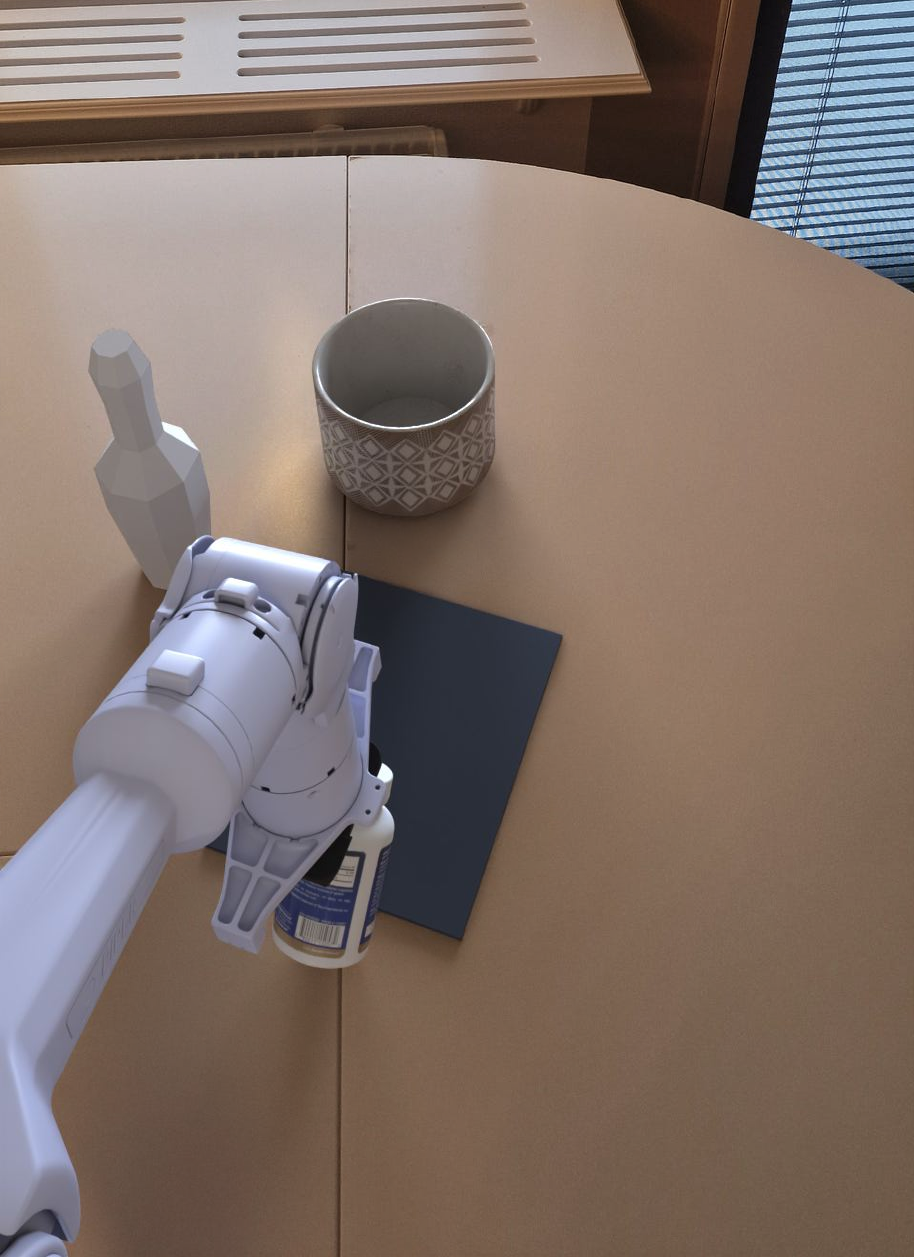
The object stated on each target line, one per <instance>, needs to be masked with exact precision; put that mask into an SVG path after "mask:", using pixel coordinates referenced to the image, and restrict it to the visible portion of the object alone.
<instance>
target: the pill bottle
mask: <svg viewBox="0 0 914 1257" xmlns="http://www.w3.org/2000/svg"><path fill="white" fill-rule="evenodd" d="M377 778H380V779H381V780H383V781H384V782H385V785H386V788H387V795H386V799H385V801H384V804H383V806H382V809H381V811H380V814H379V816H378V819H377V820H376V822H375V823H374V824H373V825H371V826H361V825H359V824H354V827H353V830H352V832H351V834H350V836H352V840H351V843H350V845H349V848H348V850H347V853H346V855H345V858H344V860H343V862H342V865H341V867H340V869H339V871H338V873H337V875H336V876H335V878H334V879H333V881H332V882H331V883H330V885H329V886H328V887H324V886H321V885H318V884H315V883H313V882H310V881H307V880H305V879H302V878H301V879H300V880H299V882H298V883H297V884H296V885H295V886H294V887H293V888H292V890H291V891H290V892H289V893H288V894H287V895H286V896H285V898H284V899H283V900H282V901H281V902H280V903H279V905H278V906H277V907H276V908H275V910H274V914H273V920H272V925H271V937H272V940H273V942H274V944H275V945H276V947H277V948H278V949H279V950H280V952H282V953H283V954H284V955H286V956H287V957H289V958H291V959H292V960H294V961H295V962H298V963H300V964H302V965H305V966H307V967H312V968H319V969H342V968H347V967H350V966H354V965H355V964H357V963H359V962H360V961H361V960H363V959H364V957H365V956H366V954H367V953H368V950H369V947H370V942H371V939H372V935H373V930H374V927H375V920H376V916H377V912H378V911H377V908H378V904H379V899H380V895H381V890H382V885H383V880H384V876H385V872H386V867H387V862H388V858H389V853H390V849H391V844H392V840H393V834H394V821H393V818H392V815H391V813H390V812H389V811H388V809H387V808H386V807H385V806H384V805H385V804H386V803H387V801H388V799H389V796H390V790H391V785H392V780H393V773H392V771H391V770H390V769H389V768H388V767H387V766H386V765H384V764H383V763H382V766H381V769H380V771H379V774H378V776H377Z"/></svg>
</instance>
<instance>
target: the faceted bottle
mask: <svg viewBox="0 0 914 1257" xmlns="http://www.w3.org/2000/svg"><path fill="white" fill-rule="evenodd" d="M88 360H89V361H88V370H87V371H88V374H89V376H90V378H91V381H92V382H93V385H94V387H95V388H96V391H97V393H98V396H99V397H100V399H101V402H102V403H103V406H104V410H105V412H106V415H107V418H108V421H109V424H110V428H111V431H112V435H113V436H112V437H111V439H110V440H109V442H108V443H107V446H106V447H105V448H104V451H103V452H102V453H101V455H100V457H99V459H98V461H97V462H96V464H95V465H94V467H93V471H94V473H95V477H96V480H97V482H98V485H99V489H100V492H101V495H102V497H103V501H104V504H105V507H106V509H107V511H108V513H109V515H110V516H111V518H112V520H113V521H114V523H115V525H116V527H117V528H118V531H119V532H120V534H121V536H122V537H123V539H124V540H125V542H126V544H127V547H128V548H129V549H130V551H131V553H132V555H133V556H134V558H135V561H136V562H137V564H138V565H139V567H140V569H141V570H142V572H143V573H144V575H145V576H146V578H147V579H148V581H149V582H150V584H151V586H152V587H153V588H157V589H161V590H166V591H167V590H168V587H169V584H170V581H171V579H172V576H173V574H174V571H175V569H176V567H177V565H178V563H179V561H180V559H181V557H182V555H183V554H184V552H185V550H186V549H187V547H188V546H190V545H192V544H193V543H194V542H195V541H196V540H197V539H198V538H200V537H202V536H205V535H209V536H212V516H211V515H212V514H211V492H210V488H209V484H208V479H207V476H206V473H205V468H204V467H205V466H204V463H203V460H202V456H201V455H202V454H201V451H200V450H199V448H197V446H196V445H195V443H194V442H193V440H191V439H190V437H189V436H188V435H187V433H186V432H185V431H184V429H183V428H182V427H180V426H177V425H174V424H170V423H167V422H164V421H162V418H161V414H160V411H159V407H158V404H157V403H158V402H157V399H156V395H155V386H154V379H153V371H152V362H151V361H150V359H149V358H148V356H147V355H146V354H145V352H144V351H143V350H142V349H141V347H140V346H139V344H138V343H137V342H136V341H135V339H134V338H133V336H132V335H131V334H130V333H129V332H128V330H126V329H120V328H114V327H112V328H110V329H108V330H105V331H103V332H101V333H99V334H98V335H97V336H96V338H95V339H94V341H93V342H92V344H91V345H90V352H89V359H88Z"/></svg>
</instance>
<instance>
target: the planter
mask: <svg viewBox="0 0 914 1257" xmlns="http://www.w3.org/2000/svg"><path fill="white" fill-rule="evenodd" d="M311 363H312V364H311V374H312V383H313V391H314V396H315V403H316V410H317V416H318V425H319V431H320V438H321V445H322V453H323V460H324V464H325V467H326V471H327V473H328V475H329V477H330V479H331V480H332V482H333V483H334V485H335V486H336V487H337V488H338V490H339V491H340V492H341V493H342V494H343V495H344V496H346V497H347V498H348V499H349V500H351V501H352V502H354V503H355V504H357V505H359V506H361V507H363V508H364V509H367V510H370V511H373V512H375V513H379V514H383V515H389V516H394V517H395V516H396V517H416V516H423V515H430V514H434V513H437V512H440V511H443V510H446V509H448V508H450V507H453V506H454V505H457V504H458V503H459V502H462V501H463V500H465V499H466V498H467V497H469V496H470V495H471V494H472V493H473V492H474V491H475V490H476V489H477V488H478V487H479V486H480V485H481V484H482V483H483V481H484V480H485V478H486V476H487V475H488V473H489V471H490V469H491V468H492V464H493V461H494V458H495V453H496V355H495V350H494V347H493V344H492V341H491V339H490V338H489V336H488V334H487V332H486V331H485V329H484V328H483V327H482V326H481V325H480V324H479V323H478V322H477V321H476V320H475V319H474V318H472V317H471V316H470V315H469V314H467V313H466V312H464V311H462V310H460V309H458V308H456V307H454V306H452V305H449V304H447V303H443V302H440V301H436V300H432V299H426V298H419V297H400V298H399V297H398V298H390V299H384V300H379V301H374V302H372V303H368V304H366V305H363V306H360V307H359V308H356V309H355V310H352V311H350V312H348V313H346V314H345V315H344V316H342V317H341V318H340V319H338V320H337V321H336V322H335V323H334V324H332V325H331V326H330V327H329V328H328V329H327V331H325V333H324V334H323V336H322V337H321V338H320V340H319V341H318V344H317V345H316V348H315V350H314V354H313V356H312V361H311Z"/></svg>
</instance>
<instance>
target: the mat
mask: <svg viewBox="0 0 914 1257" xmlns="http://www.w3.org/2000/svg"><path fill="white" fill-rule="evenodd" d="M340 571H341V575H342V574H343V573H344V574H349V575H351V577H352V579H353V577H354V574H357V576H358V601H357V610H356V618H355V626H354V640H357V641H360V642H364V643H367V644H370V645H373V646H376V647H379V652H380V659H381V669H380V672H379V674H378V676H377V679H376V680H375V681H374V682H372V689H371V714H370V738H369V740H370V741H372V742H374V743H375V744H376V745H377V746H378V748H379V749H380V752H381V755H382V763H383V764H384V765H386V766H387V767H388V768H389V769H390V770H391V771H392V773H393V780H392V785H391V790H390V796H389V799H388V801H387V803H386V804H385V805H384V806H385V807H386V808H387V809H388V811H389V812H390V813H391V815H392V818H393V821H394V834H393V840H392V844H391V849H390V853H389V858H388V862H387V867H386V872H385V876H384V880H383V885H382V890H381V895H380V899H379V904H378V908H377V912H380V913H383V914H385V915H388V916H391V917H394V918H396V919H399V920H401V921H405V922H407V923H410V924H413V925H415V926H418V927H421V928H424V929H426V930H428V931H431V932H435V933H437V934H440V935H442V936H445V937H448V938H451V939H453V940H456V941H459V942H462V941H463V938H464V934H465V932H466V929H467V926H468V923H469V920H470V917H471V914H472V911H473V908H474V905H475V902H476V899H477V896H478V893H479V890H480V887H481V884H482V881H483V878H484V875H485V872H486V869H487V866H488V864H489V860H490V857H491V855H492V851H493V849H494V848H493V847H494V845H495V841H496V839H497V837H498V833H499V831H500V827H501V824H502V821H503V818H504V816H505V812H506V809H507V807H508V803H509V800H510V797H511V794H512V792H513V788H514V784H515V782H516V779H517V776H518V773H519V770H520V767H521V764H522V761H523V758H524V755H525V752H526V749H527V746H528V743H529V740H530V737H531V734H532V732H533V728H534V725H535V723H536V719H537V716H538V713H539V710H540V707H541V705H542V701H543V698H544V695H545V692H546V689H547V686H548V683H549V680H550V677H551V675H552V672H553V668H554V665H555V662H556V659H557V655H558V653H559V650H560V647H561V645H562V641H563V637H564V635H563V634H561V633H558V632H555V631H551V630H548V629H545V628H541V627H538V626H534V625H531V624H528V623H526V622H525V623H524V622H521V621H518V620H514V619H512V618H507V617H505V616H501V615H497V614H494V613H490V612H488V611H484V610H481V609H477V608H474V607H470V606H467V605H463V604H460V603H457V602H454V601H450V600H447V599H444V598H441V597H436V596H433V595H430V594H428V593H427V594H426V593H423V592H420V591H417V590H413V589H409V588H408V587H407V588H406V587H403V586H400V585H396V584H392V583H389V582H387V581H383V580H380V579H376V578H373V577H370V576H366V575H362V574H360V573H356V572H352V571H350V570H346V569H342V568H340ZM230 822H231V820H230V821H229V823H228V825H227V827H226V828H225V830H224V831H223V832H222V833H221V835H220V836H219V837H217V838H216V839H215V840H214V841H213V842H211V843H210V844H208V845H207V846H205V847H204V848H206V849H209V850H212V851H214V852H217V853H219V854H222V855H225V856H227V848H228V839H229V835H228V833H229V827H230Z"/></svg>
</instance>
